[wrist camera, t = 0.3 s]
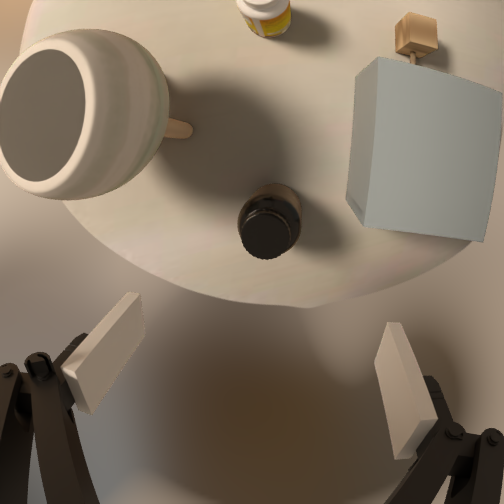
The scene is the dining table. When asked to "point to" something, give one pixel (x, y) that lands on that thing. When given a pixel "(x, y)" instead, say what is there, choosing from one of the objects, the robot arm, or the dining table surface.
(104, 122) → the planter
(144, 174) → the dining table surface
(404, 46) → the tethered block
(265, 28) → the supplement bottle
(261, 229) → the supplement bottle
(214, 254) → the dining table surface
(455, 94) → the shelf cubby
